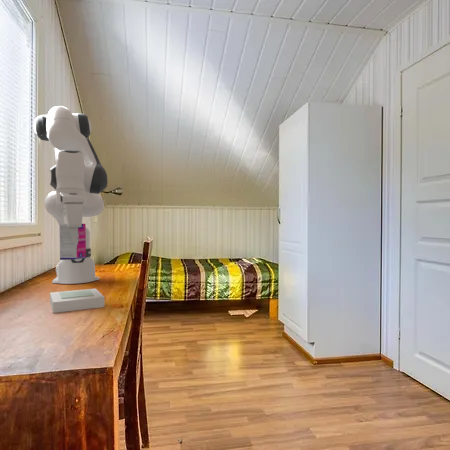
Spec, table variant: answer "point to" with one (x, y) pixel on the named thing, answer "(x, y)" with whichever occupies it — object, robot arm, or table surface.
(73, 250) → the supplement box
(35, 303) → the table surface
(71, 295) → the dock
